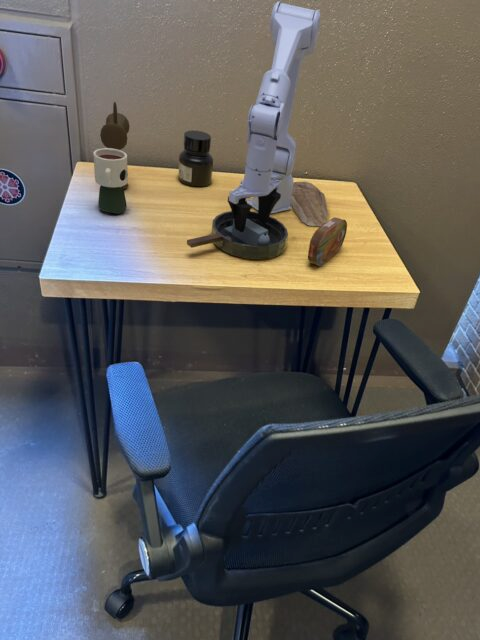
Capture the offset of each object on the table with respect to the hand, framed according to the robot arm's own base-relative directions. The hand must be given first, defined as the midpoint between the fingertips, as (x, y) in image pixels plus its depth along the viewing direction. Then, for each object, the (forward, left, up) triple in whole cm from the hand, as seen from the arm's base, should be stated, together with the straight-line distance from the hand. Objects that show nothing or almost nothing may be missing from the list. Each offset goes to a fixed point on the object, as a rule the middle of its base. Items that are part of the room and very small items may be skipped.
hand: (250, 225), depth 119 cm
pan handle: (+12, 0, -1) cm, 12 cm away
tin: (-12, +13, -4) cm, 18 cm away
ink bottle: (-7, -33, -4) cm, 34 cm away
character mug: (+21, -25, -4) cm, 33 cm away
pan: (0, 0, -4) cm, 4 cm away
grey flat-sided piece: (0, 0, -3) cm, 4 cm away
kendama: (+14, -36, -4) cm, 39 cm away
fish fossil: (-28, -10, -4) cm, 30 cm away
